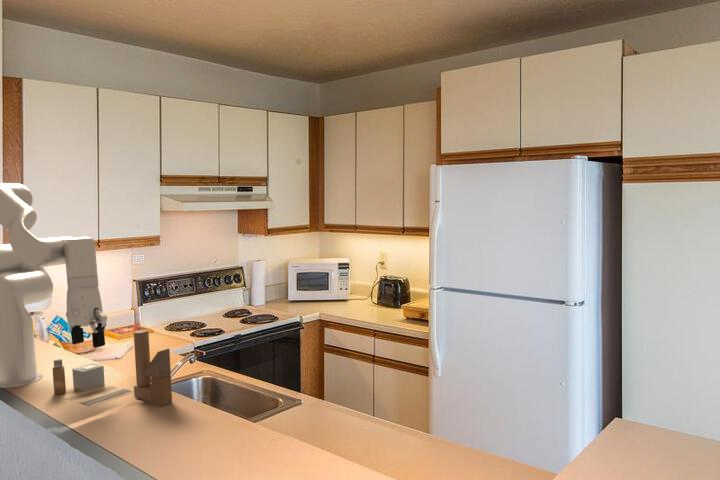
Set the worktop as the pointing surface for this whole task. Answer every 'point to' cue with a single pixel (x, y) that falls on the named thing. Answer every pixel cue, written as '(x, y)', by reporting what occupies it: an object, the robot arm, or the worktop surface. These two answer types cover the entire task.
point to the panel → (94, 395)
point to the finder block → (88, 377)
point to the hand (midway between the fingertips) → (88, 344)
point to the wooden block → (151, 372)
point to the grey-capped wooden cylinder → (59, 377)
